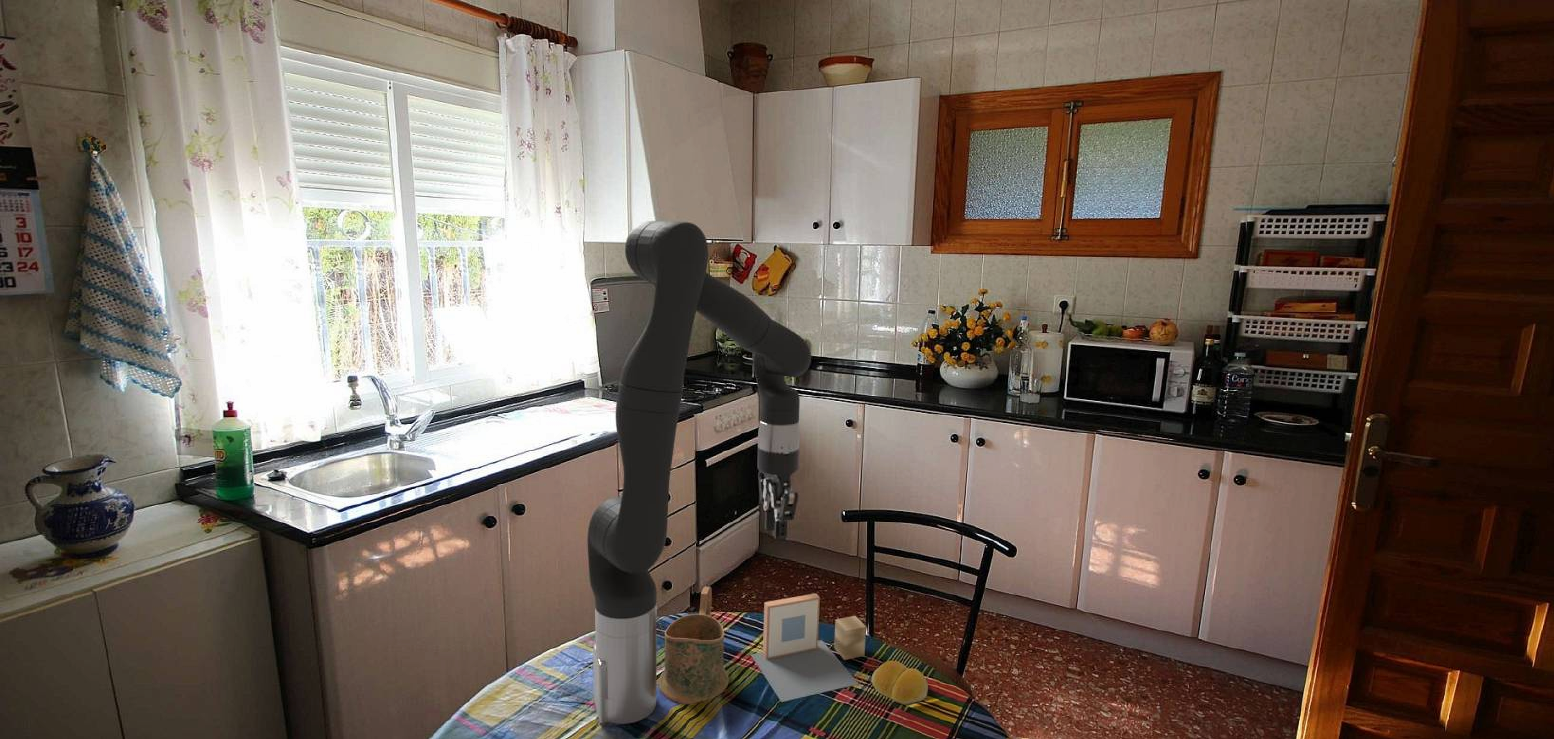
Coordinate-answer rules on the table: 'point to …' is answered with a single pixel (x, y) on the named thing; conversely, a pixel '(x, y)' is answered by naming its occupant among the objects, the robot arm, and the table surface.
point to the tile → (790, 625)
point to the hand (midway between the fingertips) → (775, 533)
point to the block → (850, 637)
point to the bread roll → (900, 682)
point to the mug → (694, 656)
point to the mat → (804, 673)
